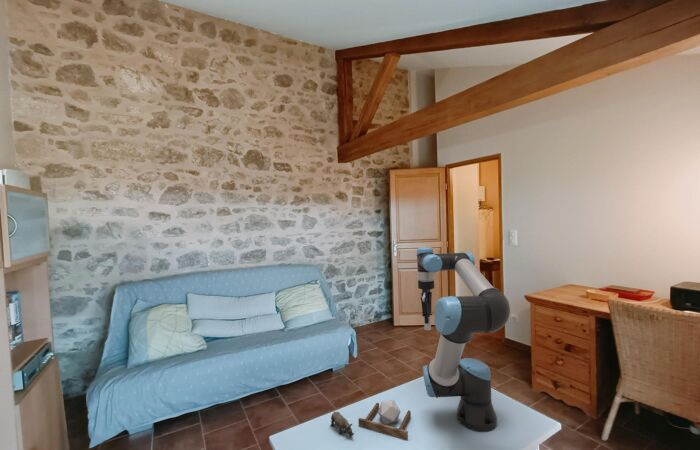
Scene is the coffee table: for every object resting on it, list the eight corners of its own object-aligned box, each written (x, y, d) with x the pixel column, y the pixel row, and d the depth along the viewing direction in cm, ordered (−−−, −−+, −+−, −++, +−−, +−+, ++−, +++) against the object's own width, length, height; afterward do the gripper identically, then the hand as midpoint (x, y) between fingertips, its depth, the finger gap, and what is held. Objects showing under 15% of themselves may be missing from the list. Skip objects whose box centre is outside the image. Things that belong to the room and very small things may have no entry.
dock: (416, 419, 130) (416, 412, 130) (407, 440, 118) (406, 432, 118) (371, 408, 139) (371, 401, 139) (358, 426, 127) (358, 419, 127)
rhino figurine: (349, 444, 117) (348, 428, 117) (328, 425, 128) (328, 411, 128) (358, 439, 120) (357, 423, 120) (337, 421, 131) (336, 407, 131)
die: (397, 431, 124) (406, 405, 128) (378, 421, 124) (387, 396, 128) (390, 426, 132) (398, 402, 136) (372, 417, 131) (381, 393, 135)
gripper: (421, 277, 158) (423, 324, 158) (414, 282, 146) (416, 333, 146) (436, 277, 154) (438, 326, 155) (430, 283, 143) (432, 335, 143)
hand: (427, 329), depth 150 cm, fingers closed
